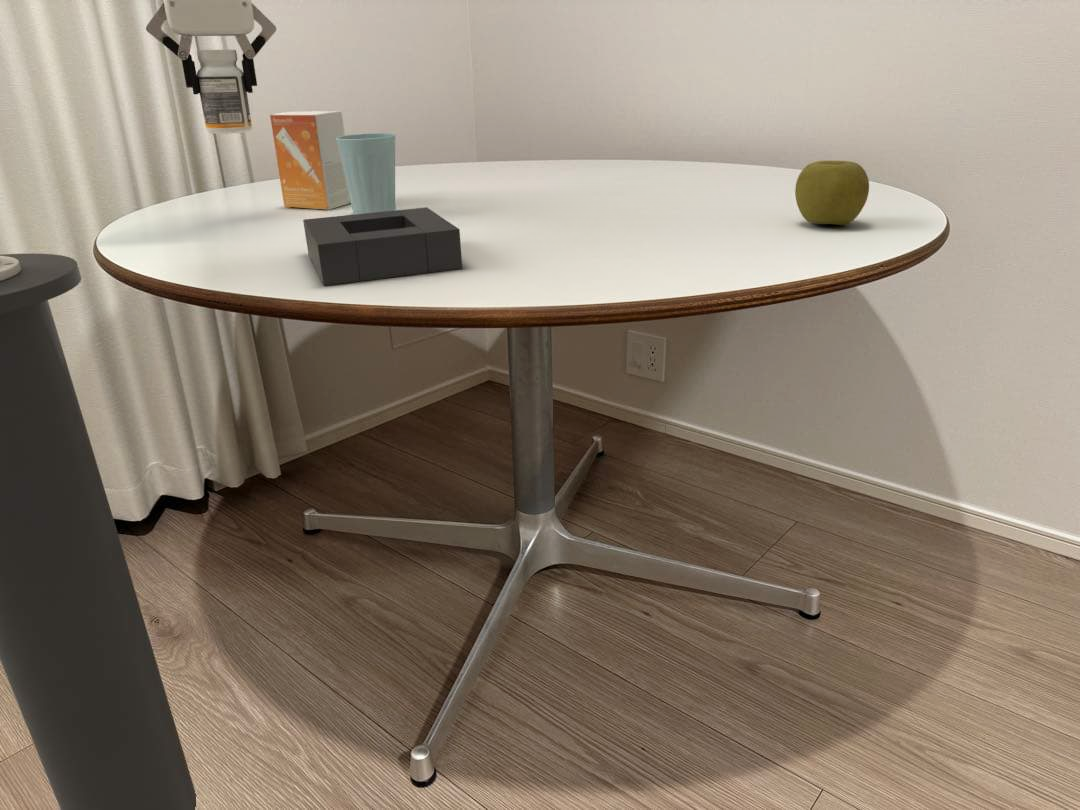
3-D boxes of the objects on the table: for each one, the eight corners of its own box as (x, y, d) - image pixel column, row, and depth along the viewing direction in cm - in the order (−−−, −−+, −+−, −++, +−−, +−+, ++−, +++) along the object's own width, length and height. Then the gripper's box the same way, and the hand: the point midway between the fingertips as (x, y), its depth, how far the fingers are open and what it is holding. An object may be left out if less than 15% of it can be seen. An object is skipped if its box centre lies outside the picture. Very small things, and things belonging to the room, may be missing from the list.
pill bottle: (221, 131, 107) (208, 50, 103) (260, 130, 106) (248, 49, 102) (197, 134, 102) (182, 49, 98) (238, 134, 101) (225, 48, 97)
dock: (323, 286, 75) (317, 244, 74) (308, 255, 87) (302, 219, 86) (462, 268, 80) (459, 228, 78) (430, 242, 92) (427, 207, 90)
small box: (283, 208, 116) (267, 114, 111) (310, 200, 121) (297, 110, 116) (328, 210, 113) (314, 113, 108) (354, 202, 118) (342, 110, 113)
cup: (335, 220, 106) (324, 138, 101) (363, 210, 112) (354, 132, 108) (385, 222, 103) (377, 138, 99) (412, 211, 110) (404, 132, 106)
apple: (791, 218, 97) (797, 157, 94) (861, 219, 95) (869, 157, 92) (792, 231, 90) (798, 166, 87) (866, 232, 88) (875, 166, 85)
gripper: (269, -61, 101) (290, 91, 108) (121, -66, 95) (152, 94, 102) (273, -71, 94) (294, 91, 101) (114, -76, 89) (148, 96, 96)
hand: (223, 91), depth 102 cm, fingers closed on pill bottle, 5 cm apart
